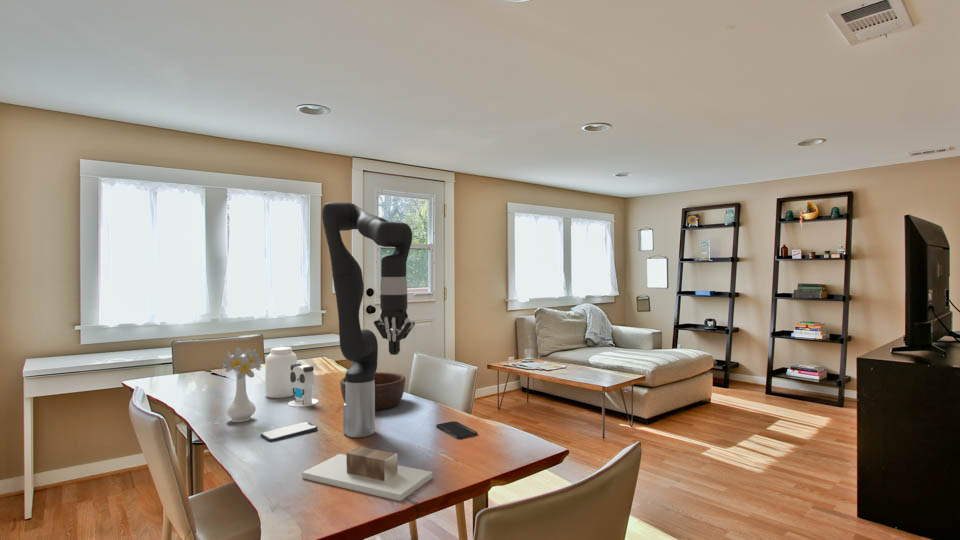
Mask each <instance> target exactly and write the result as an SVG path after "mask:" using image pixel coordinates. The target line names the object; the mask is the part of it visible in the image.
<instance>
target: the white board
mask: <svg viewBox="0 0 960 540" xmlns="http://www.w3.org/2000/svg"><path fill="white" fill-rule="evenodd" d="M397 468H398V474H396V475H395V476H393V477H391V478H390V479H388V480H387V481H382V480H377V479H373V478H368V477H364V476H359V475H354V474H350V473H347V454H343V453H338V454H337V455H334V456H333V457H330V458H328V459H326V460H324V461H322V462H321V463H320V462H319V464H315V465H314V466H312V467H310V468H308V469H306V470H304V471H302V472H301V478H302V479H303V480H308V481H312V482H317V483H322V484H325V485H329V486H334V487H338V488H342V489H343V488H344V489H346V490H351V491H355V492H359V493H365V494H368V495H373V496H377V497H381V498H385V499H389V500H394V501H399V502H402V501H403V500H404V499H406V498H407V497H408V496H410V495H411V494H412V493H414V492H415V491H417V490H418V489H419V488H420V487H422V486H423V485H425V484H426V483H428V481H430V480H431V479H433V471H428V470H425V469H419V468H415V467H414V468H413V467H408V466H403V465H398V464H397Z"/></svg>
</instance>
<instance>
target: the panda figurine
mask: <svg viewBox="0 0 960 540" xmlns="http://www.w3.org/2000/svg"><path fill="white" fill-rule="evenodd" d="M290 369H291V371H292V372H291V375H290V380H291V382H292V385H293V387H294V388H293V393H294V394H295V395H294V399H293V400H290V401H289V402H288V403H287V406H288V407H292V408H305V407H311V406H315V405H316V404H318V403H319V400H318V398H317V399H316V398H313V387H314V383H315V376H314V370H315V369H314V366H313V365H310V366H309V365H306V364H305V365H303V364H301V363H297V364H293V365H291V367H290Z"/></svg>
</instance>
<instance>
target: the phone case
mask: <svg viewBox="0 0 960 540" xmlns="http://www.w3.org/2000/svg"><path fill="white" fill-rule="evenodd" d="M317 431H318V425H315V424H313V423H312V422H309V421H304V422H299V423H295V424H292V425H288V426H284V427H279V428H276V429H272V430H267V431H263V432H261V433H260V438H261V439H264V440H265V441H267V442H269V443H272V442H277V441H283V440H286V439H289V438H290V439H291V438H294V437H298V436H301V435H306V434H307V435H308V434H310V433H313V432H317Z"/></svg>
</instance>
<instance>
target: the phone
mask: <svg viewBox="0 0 960 540" xmlns="http://www.w3.org/2000/svg"><path fill="white" fill-rule="evenodd" d="M435 428H436V429H438V430H439V431H441V432H443V433H445V434H446V435H447V436H448V435H449V436H450V437H452V438H454V439H456V440H463V439H467V438H471V437H472V438H473V437H475V436H478V431H476V430H475V429H472V428H471V427H468V426H466V425H465V424H463V423H460V422H458V421H455V420H452V421H448V422H442V423H438V424H436V425H435Z"/></svg>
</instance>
